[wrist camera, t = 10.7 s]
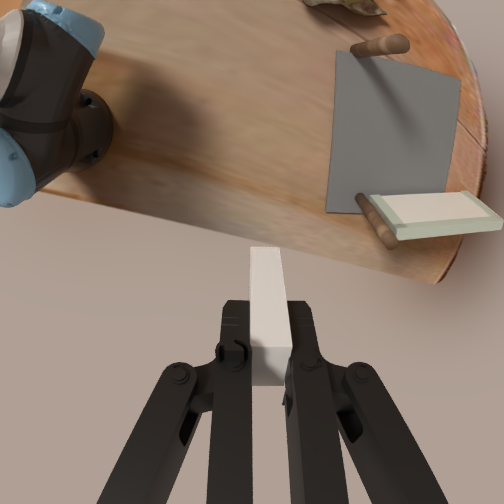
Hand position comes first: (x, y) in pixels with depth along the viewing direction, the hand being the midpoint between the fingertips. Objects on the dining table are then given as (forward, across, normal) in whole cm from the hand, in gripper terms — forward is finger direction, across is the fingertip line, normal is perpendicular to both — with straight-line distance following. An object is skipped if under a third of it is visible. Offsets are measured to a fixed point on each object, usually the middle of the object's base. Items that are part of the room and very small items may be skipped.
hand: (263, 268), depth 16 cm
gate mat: (+35, +24, +2) cm, 42 cm away
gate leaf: (+33, +31, -7) cm, 46 cm away
